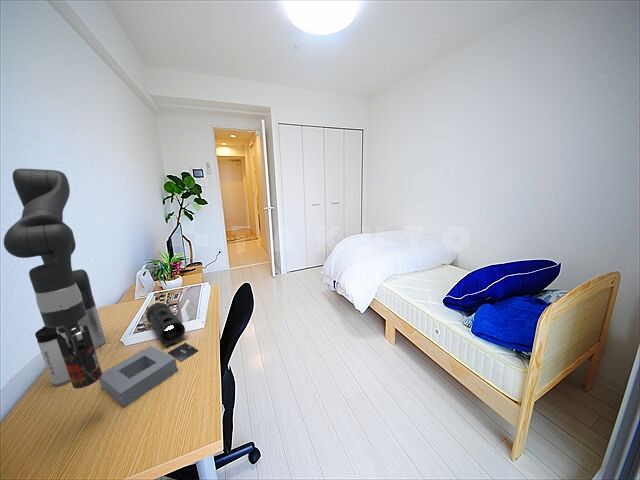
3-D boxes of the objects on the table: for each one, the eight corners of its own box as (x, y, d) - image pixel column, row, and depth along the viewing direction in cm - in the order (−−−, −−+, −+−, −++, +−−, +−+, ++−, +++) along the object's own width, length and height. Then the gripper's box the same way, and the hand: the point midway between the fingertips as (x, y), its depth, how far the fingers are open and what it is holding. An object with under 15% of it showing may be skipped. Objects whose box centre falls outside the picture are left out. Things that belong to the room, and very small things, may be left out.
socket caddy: (101, 388, 79) (97, 375, 78) (153, 357, 92) (150, 345, 91) (124, 407, 71) (120, 393, 70) (177, 370, 84) (175, 358, 83)
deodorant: (73, 380, 66) (57, 332, 63) (101, 368, 70) (88, 323, 67) (72, 392, 62) (54, 342, 59) (102, 379, 66) (88, 331, 63)
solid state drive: (185, 343, 100) (185, 342, 100) (199, 351, 94) (198, 350, 94) (167, 353, 94) (167, 352, 94) (181, 363, 89) (180, 361, 89)
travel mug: (75, 369, 88) (58, 320, 83) (81, 376, 84) (64, 325, 80) (50, 381, 83) (31, 330, 78) (56, 389, 79) (36, 336, 75)
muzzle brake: (162, 351, 96) (157, 328, 93) (147, 325, 115) (142, 305, 113) (188, 339, 102) (183, 317, 100) (169, 317, 122) (165, 298, 119)
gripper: (31, 304, 61) (51, 360, 65) (48, 317, 54) (70, 380, 58) (71, 292, 67) (87, 344, 71) (92, 303, 60) (108, 360, 64)
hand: (79, 359), depth 64 cm, fingers closed on deodorant, 6 cm apart
